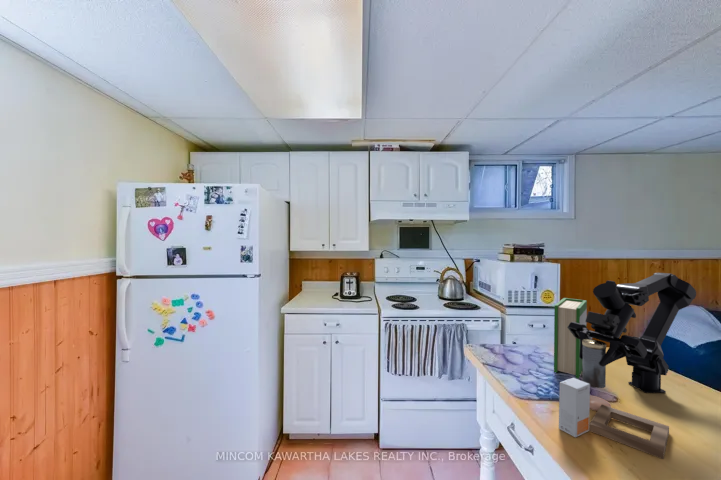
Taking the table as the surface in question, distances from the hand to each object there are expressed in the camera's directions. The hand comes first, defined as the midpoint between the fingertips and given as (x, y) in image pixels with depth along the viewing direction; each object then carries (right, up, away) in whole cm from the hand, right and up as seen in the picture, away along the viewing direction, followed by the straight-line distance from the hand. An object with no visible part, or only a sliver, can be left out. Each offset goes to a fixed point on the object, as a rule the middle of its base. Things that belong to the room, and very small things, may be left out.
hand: (590, 361), depth 90 cm
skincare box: (-13, -13, -12) cm, 21 cm away
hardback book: (+12, -12, +26) cm, 31 cm away
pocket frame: (0, -13, -12) cm, 18 cm away
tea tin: (+1, -7, +1) cm, 7 cm away
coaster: (+1, -12, +1) cm, 13 cm away
